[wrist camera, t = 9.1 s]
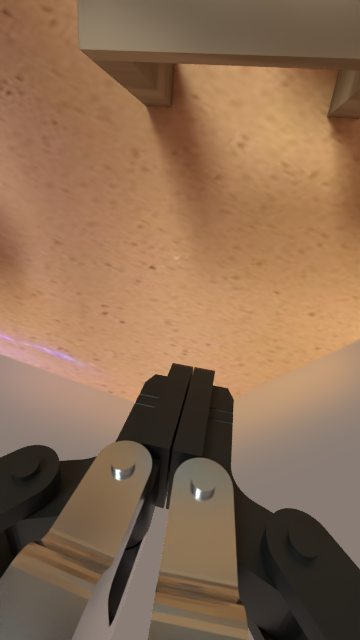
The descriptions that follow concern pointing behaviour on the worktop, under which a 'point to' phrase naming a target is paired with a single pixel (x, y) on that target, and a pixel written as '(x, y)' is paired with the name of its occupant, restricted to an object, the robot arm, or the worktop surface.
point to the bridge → (222, 41)
